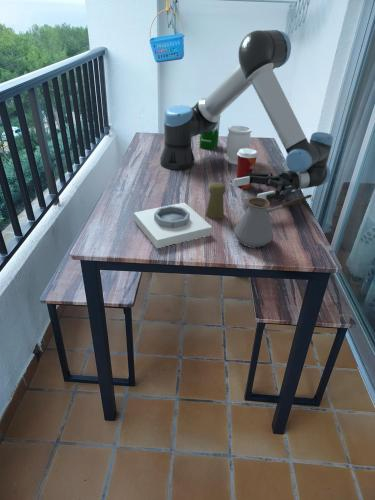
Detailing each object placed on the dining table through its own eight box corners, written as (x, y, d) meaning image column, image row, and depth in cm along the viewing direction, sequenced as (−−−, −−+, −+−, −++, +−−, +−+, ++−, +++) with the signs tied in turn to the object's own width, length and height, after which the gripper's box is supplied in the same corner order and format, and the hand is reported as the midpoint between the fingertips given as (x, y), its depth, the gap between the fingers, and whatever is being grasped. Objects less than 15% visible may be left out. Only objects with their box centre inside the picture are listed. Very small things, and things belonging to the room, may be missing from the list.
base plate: (134, 220, 115) (133, 206, 112) (184, 210, 122) (184, 196, 120) (157, 249, 102) (156, 234, 99) (211, 235, 109) (212, 221, 107)
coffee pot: (237, 252, 102) (244, 204, 94) (229, 231, 112) (234, 186, 103) (309, 250, 104) (322, 203, 96) (295, 230, 114) (306, 186, 106)
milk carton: (197, 148, 178) (199, 105, 167) (203, 143, 185) (205, 102, 174) (214, 151, 176) (217, 108, 165) (219, 145, 183) (223, 104, 172)
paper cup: (252, 191, 138) (257, 155, 130) (232, 188, 139) (236, 153, 131) (253, 183, 144) (258, 148, 136) (234, 181, 145) (238, 146, 138)
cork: (226, 213, 122) (230, 183, 115) (218, 220, 117) (221, 189, 111) (211, 209, 124) (213, 179, 118) (202, 215, 120) (204, 185, 114)
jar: (247, 166, 159) (251, 132, 151) (224, 164, 161) (227, 130, 152) (247, 158, 168) (252, 126, 160) (225, 156, 169) (228, 124, 161)
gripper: (315, 203, 123) (266, 216, 114) (269, 178, 141) (224, 186, 132) (321, 183, 119) (270, 194, 110) (272, 159, 137) (225, 167, 128)
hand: (245, 190), depth 121 cm, fingers open, 13 cm apart
